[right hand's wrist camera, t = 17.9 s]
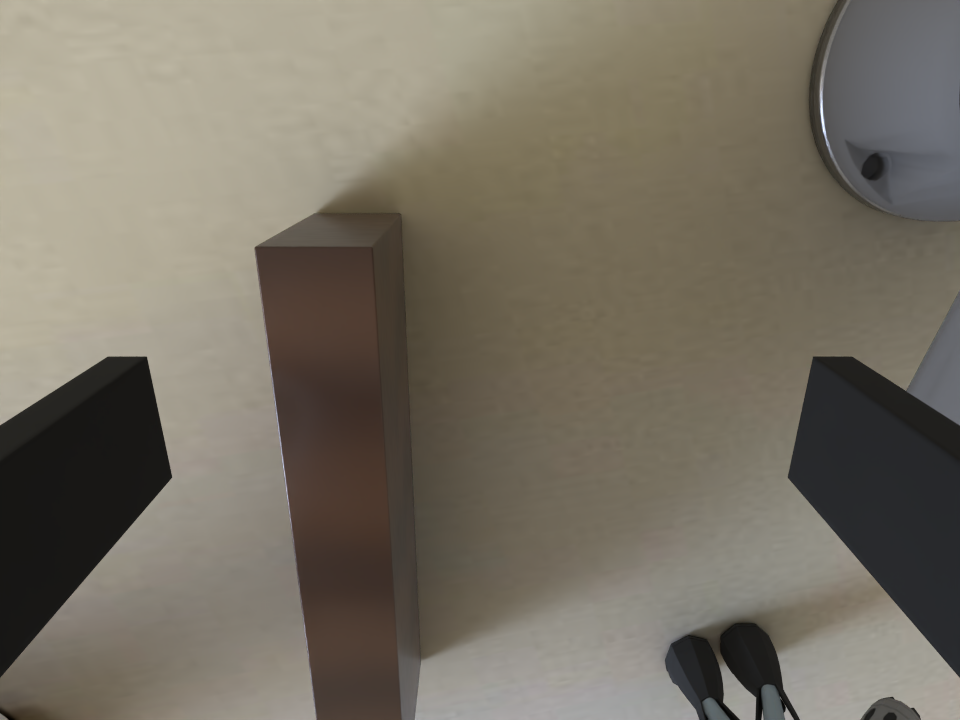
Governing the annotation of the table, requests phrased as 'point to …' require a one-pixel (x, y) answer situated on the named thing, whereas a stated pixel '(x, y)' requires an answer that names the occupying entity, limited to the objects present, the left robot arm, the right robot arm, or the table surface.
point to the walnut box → (347, 455)
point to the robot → (747, 677)
